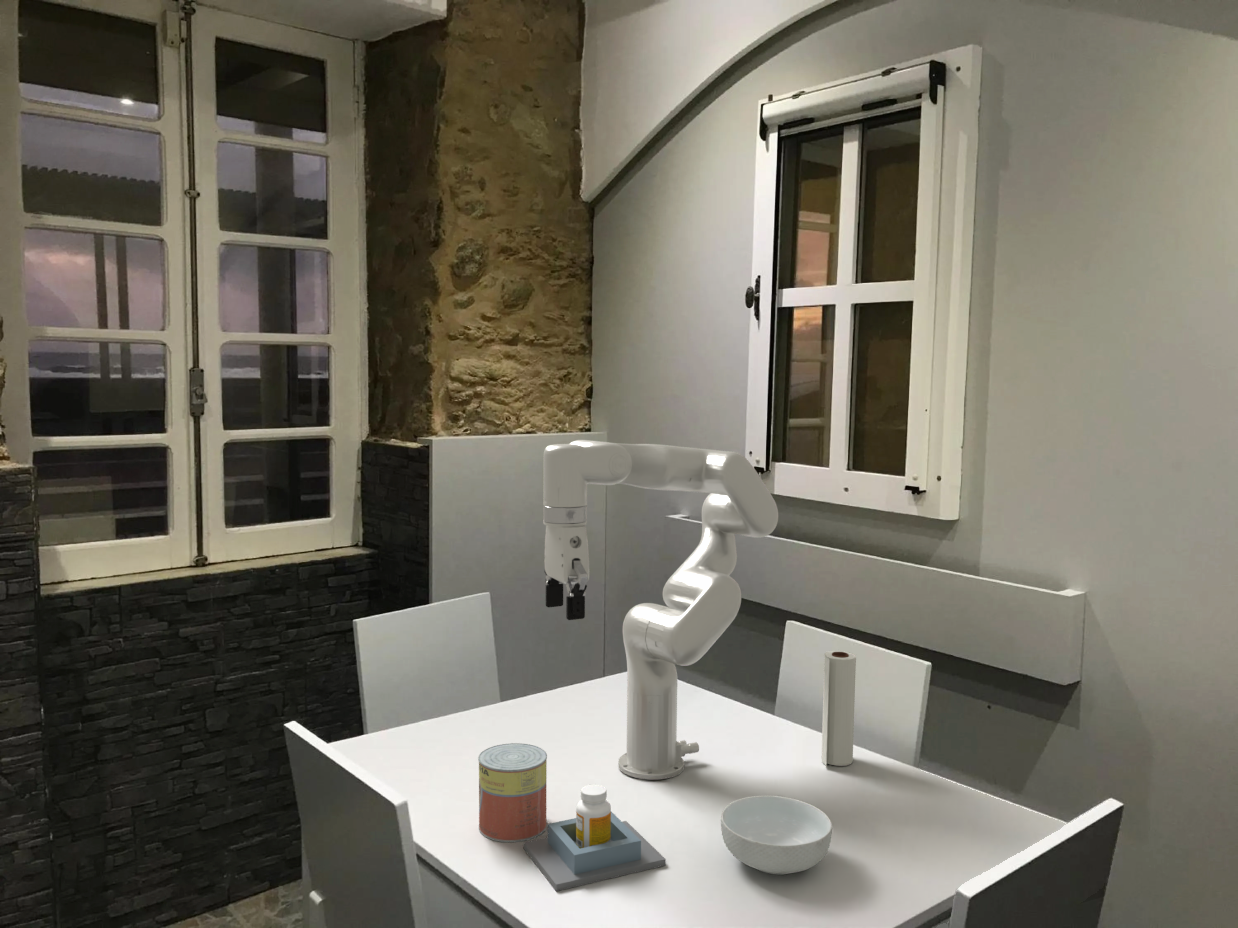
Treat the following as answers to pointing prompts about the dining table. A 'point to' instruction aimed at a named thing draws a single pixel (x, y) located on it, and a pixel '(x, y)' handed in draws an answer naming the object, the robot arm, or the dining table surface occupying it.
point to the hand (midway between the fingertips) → (564, 612)
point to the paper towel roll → (838, 708)
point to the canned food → (512, 792)
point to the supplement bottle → (593, 817)
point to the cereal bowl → (776, 833)
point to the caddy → (591, 855)
